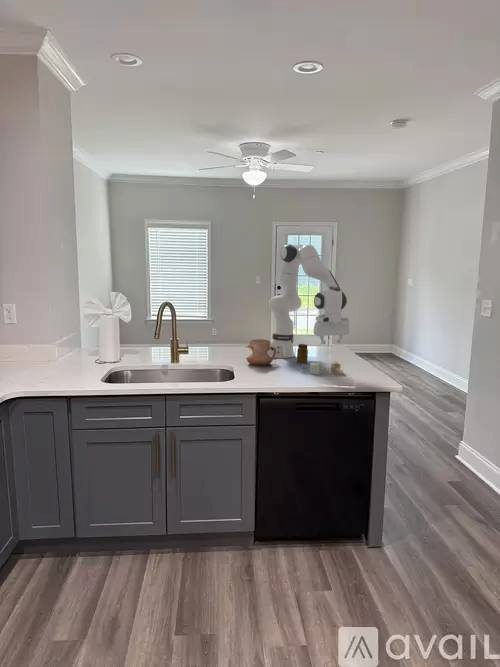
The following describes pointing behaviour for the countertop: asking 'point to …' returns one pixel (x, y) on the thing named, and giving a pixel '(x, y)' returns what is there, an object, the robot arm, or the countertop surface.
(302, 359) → the condiment
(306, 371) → the grey flat slab
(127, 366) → the countertop surface
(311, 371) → the sage block
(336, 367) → the maple block
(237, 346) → the countertop surface
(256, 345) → the ceramic jug
